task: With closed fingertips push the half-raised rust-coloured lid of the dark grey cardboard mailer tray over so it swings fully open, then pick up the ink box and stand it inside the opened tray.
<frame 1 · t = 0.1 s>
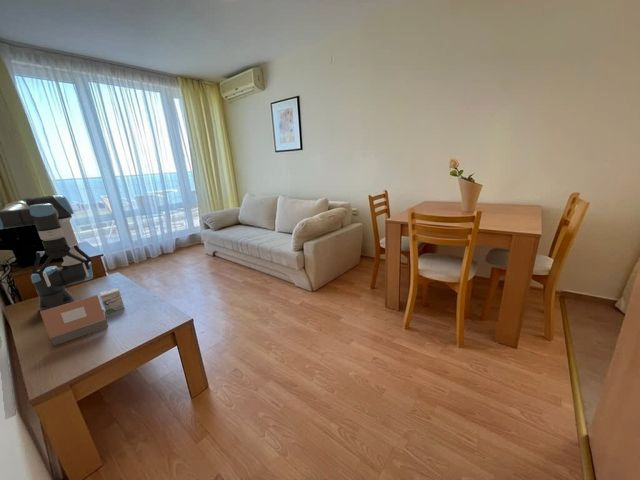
hand: (69, 280, 121), 28 cm above the table, fingers open, 13 cm apart
ink box: (115, 309, 148), on the table
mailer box: (82, 330, 130), on the table
lid: (74, 315, 122), point 11 cm above the table, hinge at 78.0°
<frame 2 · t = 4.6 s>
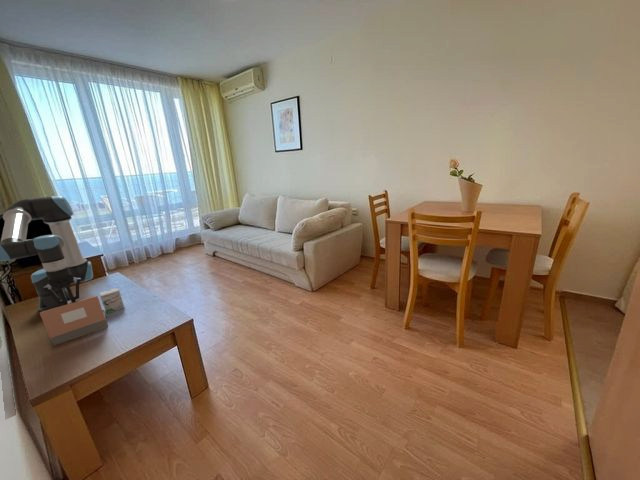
hand: (74, 313, 123), 12 cm above the table, fingers closed
lid: (74, 316, 121), point 12 cm above the table, hinge at 84.7°, touching gripper
everything else where it was.
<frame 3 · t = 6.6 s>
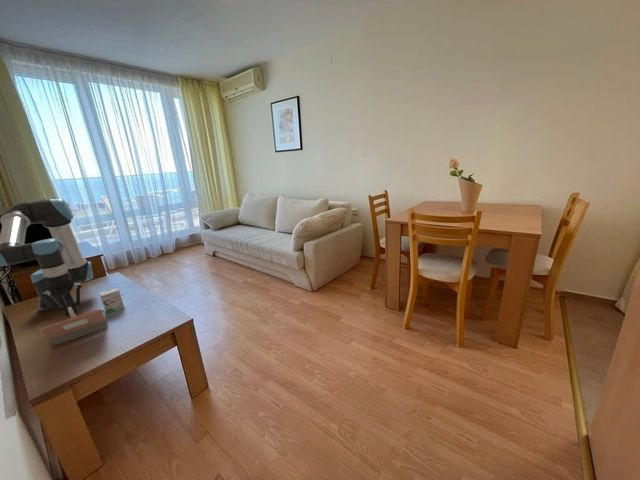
hand: (74, 320, 119), 11 cm above the table, fingers closed
lid: (75, 323, 119), point 10 cm above the table, hinge at 131.8°, touching gripper
everything else where it was.
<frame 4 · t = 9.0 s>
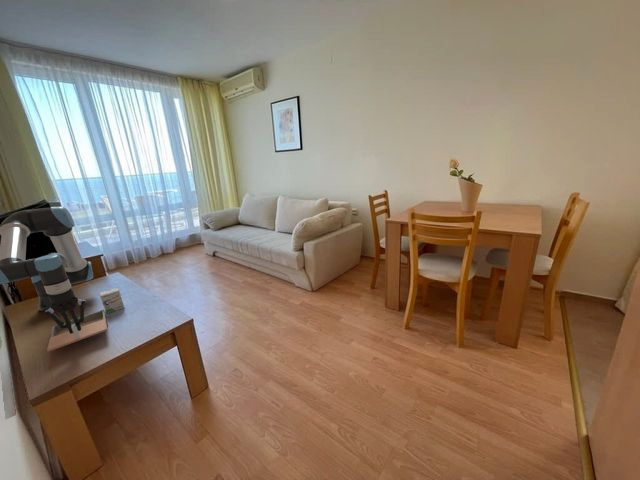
hand: (78, 337, 114), 6 cm above the table, fingers closed
lid: (79, 333, 119), point 5 cm above the table, hinge at 176.4°, touching gripper
everything else where it was.
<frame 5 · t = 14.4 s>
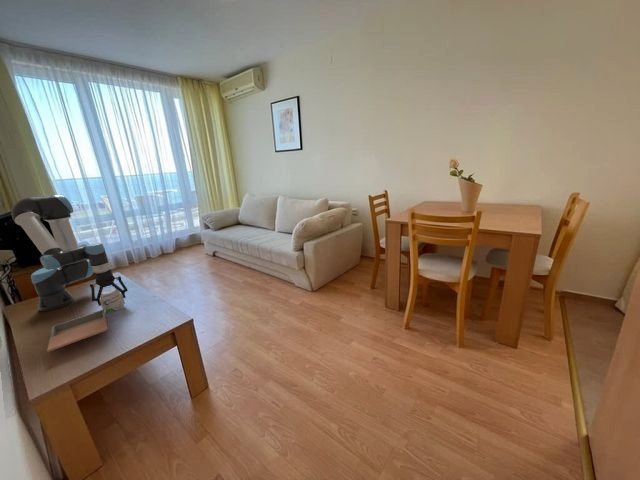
hand: (114, 306, 147), 2 cm above the table, fingers closed on ink box, 9 cm apart
ink box: (115, 309, 147), on the table, touching gripper
lid: (79, 333, 119), point 5 cm above the table, hinge at 176.5°
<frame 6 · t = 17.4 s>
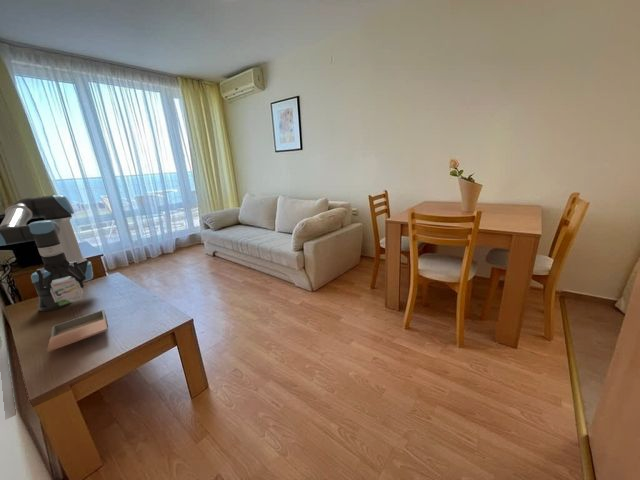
hand: (69, 297, 124), 19 cm above the table, fingers closed on ink box, 9 cm apart
ink box: (71, 301, 125), point 17 cm above the table, touching gripper
everything else where it was.
when the fingers open (4 cm above the table, at t = 20.5 s): ink box drops 1 cm, resting on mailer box.
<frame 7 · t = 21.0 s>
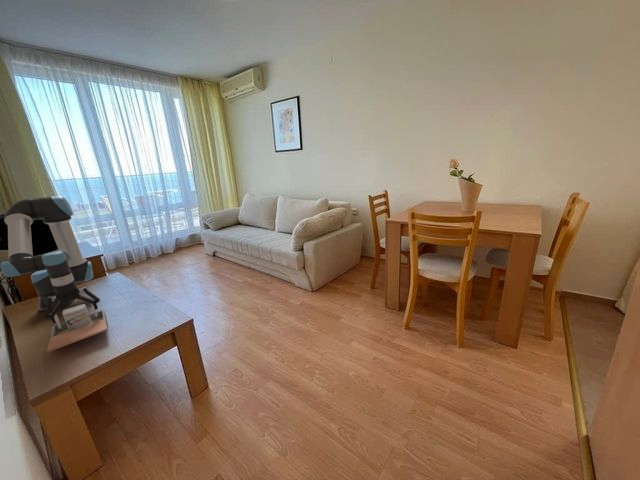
hand: (78, 321, 128), 5 cm above the table, fingers open, 13 cm apart
ink box: (81, 329, 130), point 1 cm above the table, touching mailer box
everything else where it was.
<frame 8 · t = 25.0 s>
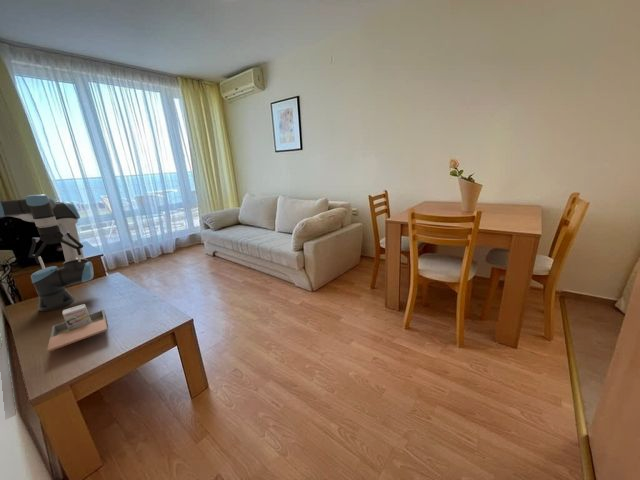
hand: (62, 264, 134), 31 cm above the table, fingers open, 13 cm apart
nothing on the table moved.
at the end: lid at +176° (first picture: +78°); ink box inside the target area on the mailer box (0.0 cm from its centre), point 0.6 cm above the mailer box's base; ink box tilted 0° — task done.
